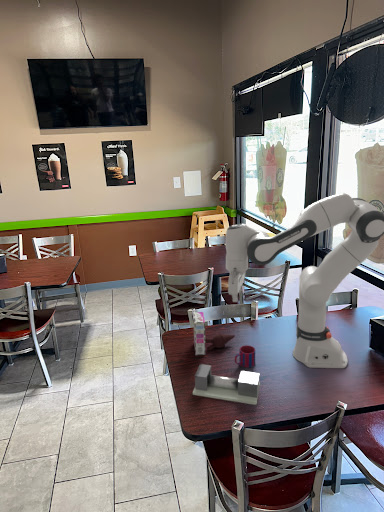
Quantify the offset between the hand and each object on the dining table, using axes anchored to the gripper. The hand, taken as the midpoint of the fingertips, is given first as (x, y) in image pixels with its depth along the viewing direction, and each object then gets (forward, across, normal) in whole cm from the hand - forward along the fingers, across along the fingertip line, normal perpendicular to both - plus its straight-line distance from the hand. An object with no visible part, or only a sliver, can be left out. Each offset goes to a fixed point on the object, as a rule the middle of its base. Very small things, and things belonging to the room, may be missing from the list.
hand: (237, 296), depth 146 cm
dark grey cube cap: (+30, -19, -7) cm, 36 cm away
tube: (+30, -19, +4) cm, 36 cm away
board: (+31, -19, +1) cm, 36 cm away
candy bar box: (+31, +7, +19) cm, 37 cm away
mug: (+31, -1, -3) cm, 31 cm away
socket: (+30, -19, +10) cm, 37 cm away
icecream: (+31, +11, +10) cm, 34 cm away
